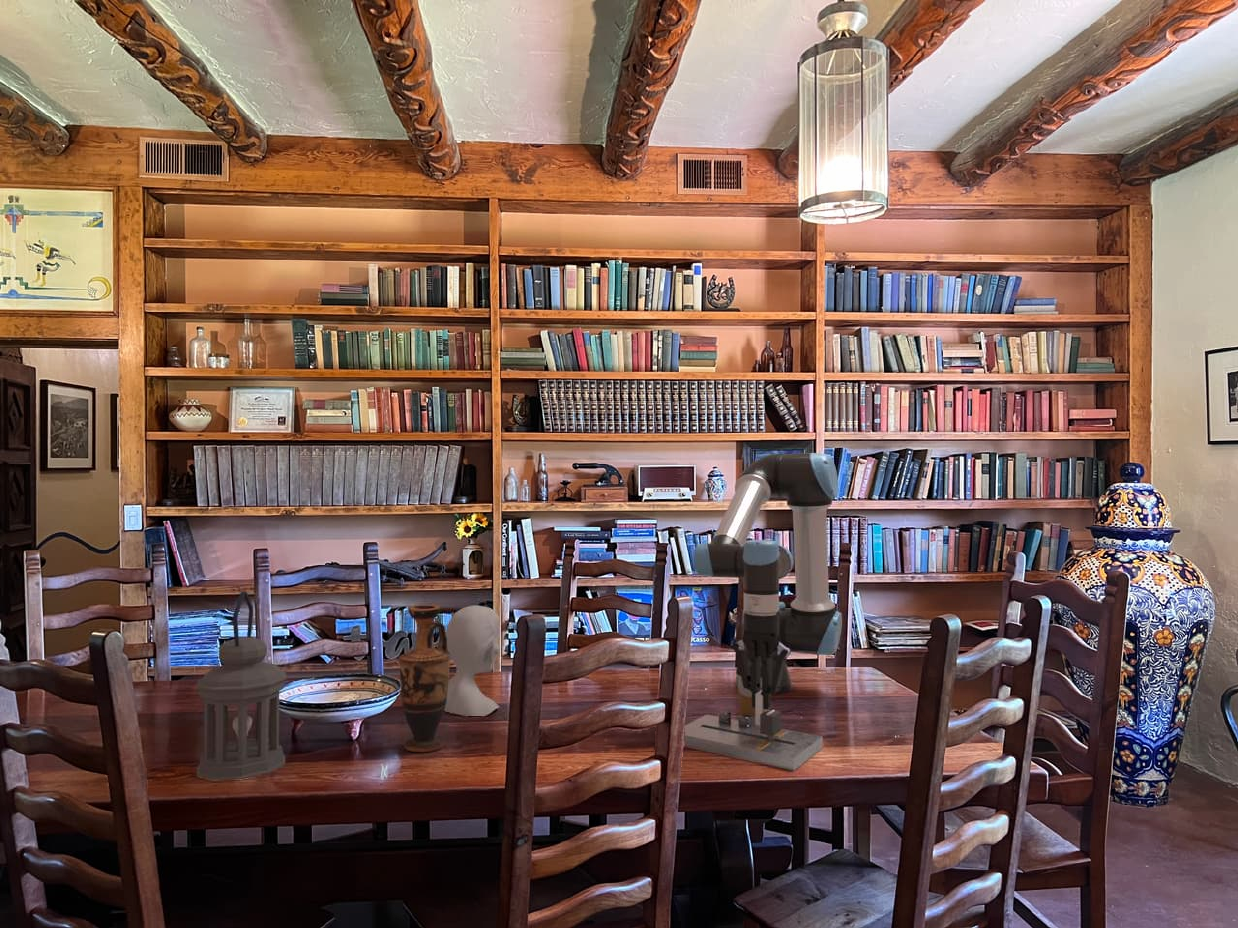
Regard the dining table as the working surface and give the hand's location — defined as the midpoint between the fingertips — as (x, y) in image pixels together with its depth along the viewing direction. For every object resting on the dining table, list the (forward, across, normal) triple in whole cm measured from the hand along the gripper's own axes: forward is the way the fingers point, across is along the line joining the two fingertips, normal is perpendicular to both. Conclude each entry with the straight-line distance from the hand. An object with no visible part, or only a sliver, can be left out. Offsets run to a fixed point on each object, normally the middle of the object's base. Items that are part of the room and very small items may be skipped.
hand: (761, 723), depth 171 cm
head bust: (+6, -75, -10) cm, 76 cm away
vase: (+6, -60, -40) cm, 72 cm away
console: (+5, -4, 0) cm, 6 cm away
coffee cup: (+6, -7, +12) cm, 15 cm away
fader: (+5, +2, 0) cm, 6 cm away
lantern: (+6, -82, -68) cm, 107 cm away
